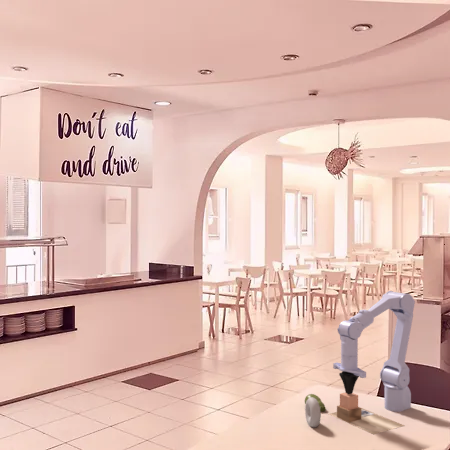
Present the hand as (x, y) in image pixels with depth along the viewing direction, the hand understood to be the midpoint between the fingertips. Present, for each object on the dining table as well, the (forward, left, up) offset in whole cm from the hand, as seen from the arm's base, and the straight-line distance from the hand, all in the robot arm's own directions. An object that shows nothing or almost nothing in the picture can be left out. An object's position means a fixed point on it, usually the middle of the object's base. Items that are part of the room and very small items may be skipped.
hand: (349, 393), depth 197 cm
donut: (+15, -2, -10) cm, 18 cm away
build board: (-4, +4, -10) cm, 11 cm away
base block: (0, 0, -9) cm, 9 cm away
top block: (0, 0, -5) cm, 5 cm away
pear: (+3, -14, -10) cm, 18 cm away
